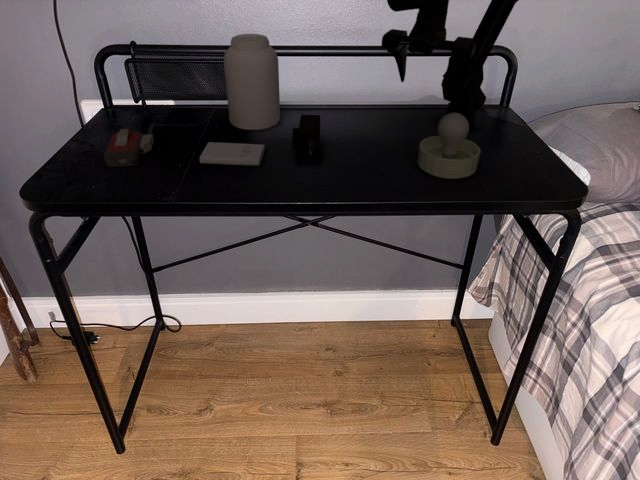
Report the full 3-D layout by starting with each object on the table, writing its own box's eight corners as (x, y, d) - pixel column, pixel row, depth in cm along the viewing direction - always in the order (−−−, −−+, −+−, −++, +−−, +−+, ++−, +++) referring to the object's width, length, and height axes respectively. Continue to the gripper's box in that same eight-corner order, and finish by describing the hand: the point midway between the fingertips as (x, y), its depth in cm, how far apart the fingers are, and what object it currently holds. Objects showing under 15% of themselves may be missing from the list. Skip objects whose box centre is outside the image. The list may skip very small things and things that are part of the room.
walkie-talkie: (148, 168, 103) (158, 130, 119) (144, 148, 101) (154, 112, 117) (103, 170, 102) (119, 131, 118) (98, 150, 99) (115, 113, 115)
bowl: (451, 150, 112) (454, 131, 109) (488, 173, 103) (493, 153, 101) (405, 160, 108) (408, 141, 105) (440, 185, 99) (444, 165, 96)
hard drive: (209, 148, 112) (265, 150, 111) (200, 164, 105) (259, 166, 104) (208, 141, 111) (264, 143, 110) (199, 157, 104) (258, 159, 103)
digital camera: (296, 143, 114) (295, 113, 110) (320, 144, 114) (320, 114, 110) (292, 164, 106) (291, 132, 102) (318, 164, 105) (318, 133, 101)
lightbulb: (444, 173, 102) (453, 121, 95) (426, 161, 106) (433, 110, 100) (468, 167, 104) (478, 116, 98) (449, 155, 109) (458, 106, 102)
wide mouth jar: (290, 119, 126) (288, 35, 115) (259, 135, 117) (254, 46, 106) (251, 108, 131) (245, 27, 120) (218, 124, 123) (209, 38, 111)
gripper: (375, 9, 97) (370, 89, 106) (473, 18, 91) (458, 103, 100) (393, 0, 105) (386, 75, 114) (483, 8, 99) (469, 86, 108)
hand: (423, 84), depth 109 cm, fingers open, 9 cm apart
